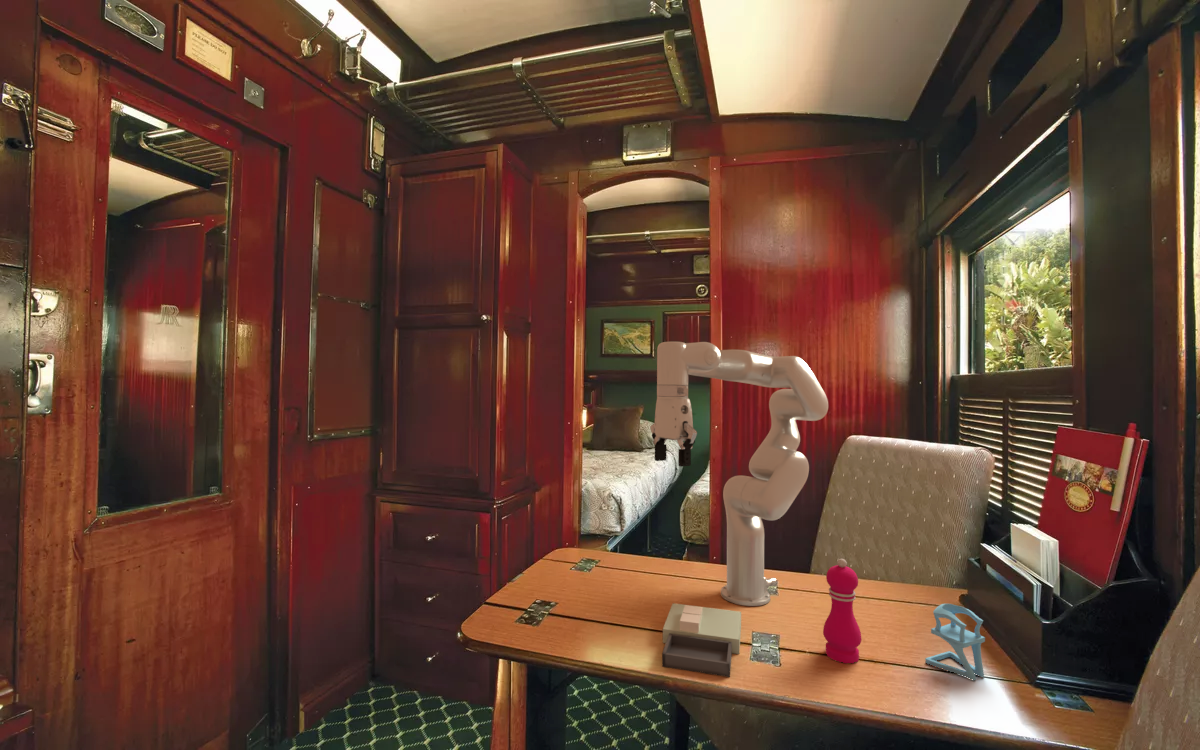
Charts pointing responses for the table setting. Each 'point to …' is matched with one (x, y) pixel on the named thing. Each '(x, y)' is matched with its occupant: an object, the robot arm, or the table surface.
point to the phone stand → (958, 640)
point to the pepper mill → (842, 615)
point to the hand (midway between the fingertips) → (672, 463)
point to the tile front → (690, 622)
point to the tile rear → (693, 610)
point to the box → (697, 654)
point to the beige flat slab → (707, 625)
